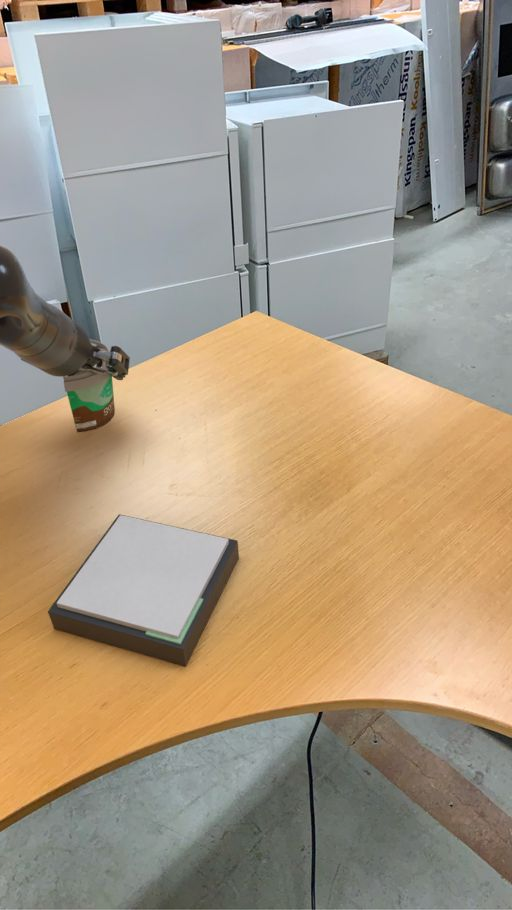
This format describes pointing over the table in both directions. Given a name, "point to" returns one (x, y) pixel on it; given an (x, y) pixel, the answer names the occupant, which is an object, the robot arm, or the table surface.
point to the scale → (147, 588)
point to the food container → (90, 397)
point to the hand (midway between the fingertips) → (97, 372)
